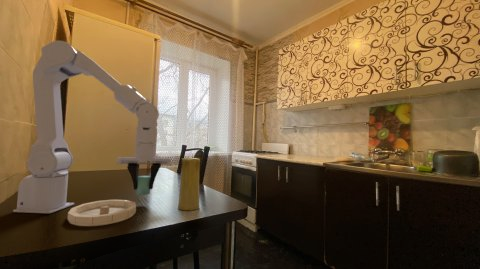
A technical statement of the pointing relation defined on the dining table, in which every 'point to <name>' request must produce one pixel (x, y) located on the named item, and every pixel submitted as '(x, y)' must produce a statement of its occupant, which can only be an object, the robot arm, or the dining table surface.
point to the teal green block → (143, 185)
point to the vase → (189, 184)
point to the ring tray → (101, 212)
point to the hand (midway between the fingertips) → (143, 188)
